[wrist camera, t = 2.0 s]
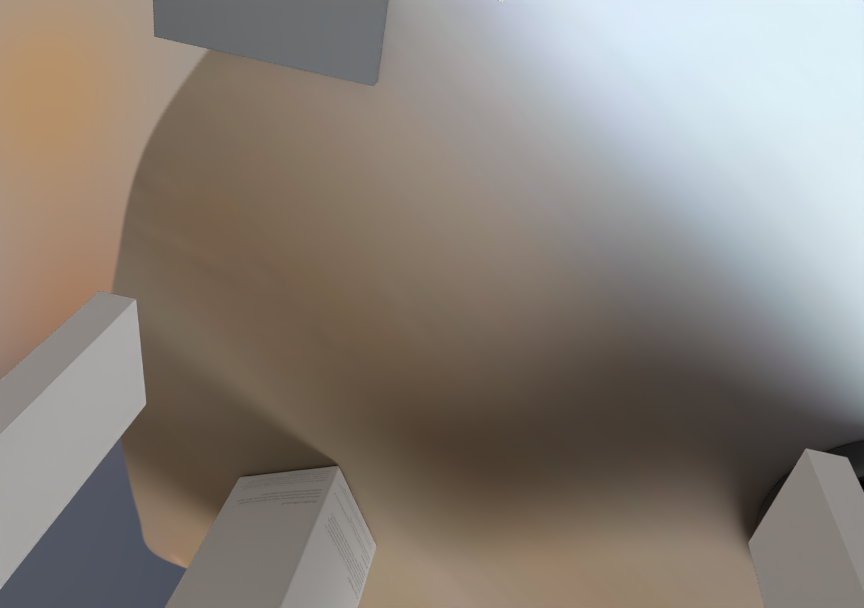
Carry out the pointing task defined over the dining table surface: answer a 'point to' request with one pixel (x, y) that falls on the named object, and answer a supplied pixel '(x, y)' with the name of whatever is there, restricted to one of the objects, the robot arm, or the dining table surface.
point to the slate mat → (283, 32)
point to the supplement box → (282, 546)
